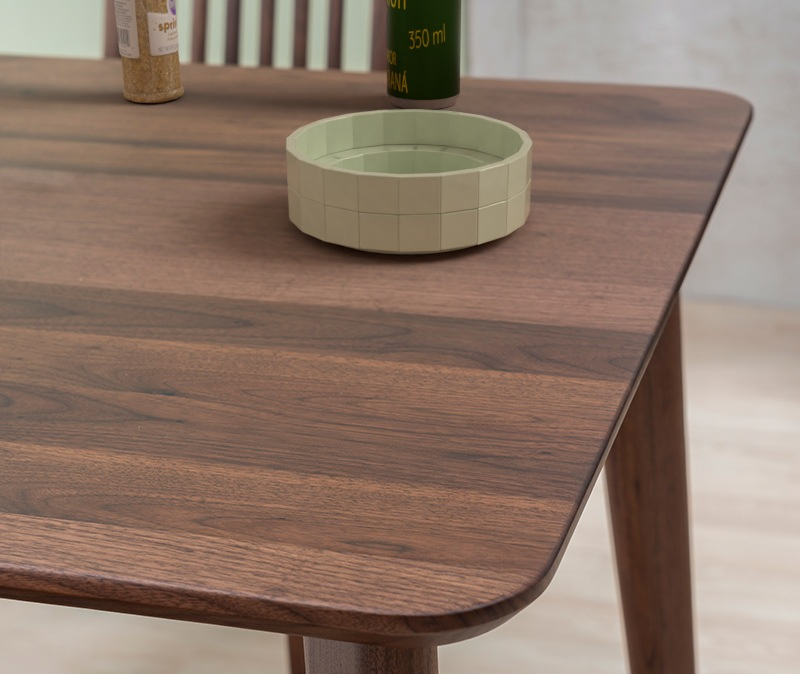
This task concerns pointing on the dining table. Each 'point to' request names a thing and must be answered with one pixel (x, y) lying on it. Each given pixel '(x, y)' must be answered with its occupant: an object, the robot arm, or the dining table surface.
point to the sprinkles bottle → (149, 50)
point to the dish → (409, 180)
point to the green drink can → (423, 53)
